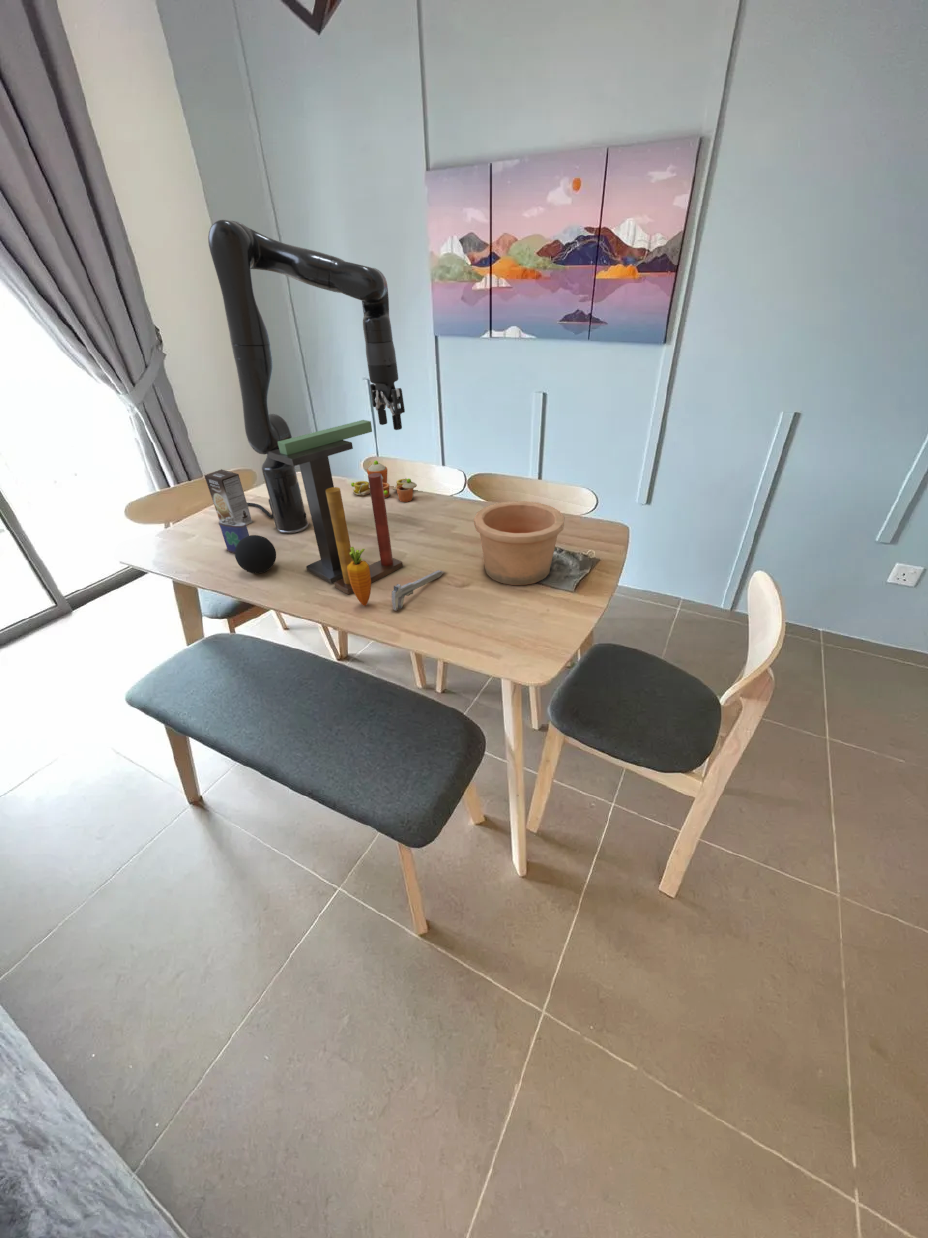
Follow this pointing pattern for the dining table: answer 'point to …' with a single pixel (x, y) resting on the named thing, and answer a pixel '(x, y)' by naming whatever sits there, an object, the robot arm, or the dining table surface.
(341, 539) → the rod rack
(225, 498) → the coffee box
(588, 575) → the dining table surface
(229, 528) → the blue clover container
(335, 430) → the bar
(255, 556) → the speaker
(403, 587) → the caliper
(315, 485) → the stand
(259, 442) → the robot arm
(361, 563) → the carrot
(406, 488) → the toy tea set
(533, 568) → the pottery
